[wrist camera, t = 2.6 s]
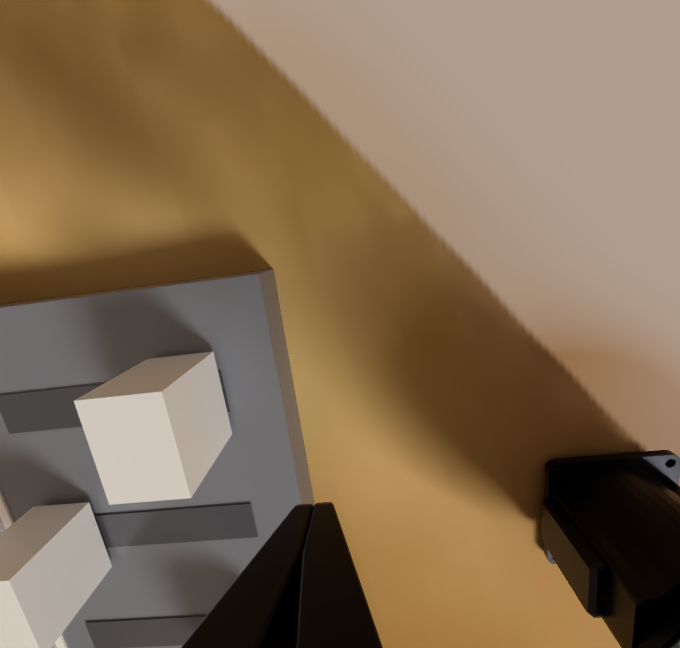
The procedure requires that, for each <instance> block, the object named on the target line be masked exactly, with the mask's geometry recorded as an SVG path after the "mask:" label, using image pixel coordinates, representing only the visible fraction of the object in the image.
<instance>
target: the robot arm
mask: <svg viewBox="0 0 680 648" xmlns="http://www.w3.org/2000/svg"><path fill="white" fill-rule="evenodd" d="M667 460H668V461H667ZM666 461H667V462H666ZM557 468H559V469H558V470H557V471H554V470H555V469H557ZM679 475H680V458H679V457H678V456H677V455H675V454H674V453H672V452H671V451H668V450H660V451H647V452H635V453H623V454H611V455H599V456H587V457H574V458H562V459H553V460H550V461H549V462H547V464H546V465H545V486H544V498H543V500H542V502H541V539H542V541H543V543H544V554H545V556H546V557H547V559H548V560H549V562H550V563H553V564H557V565H558V567H559V568H560V570H561V572H562V573H563V575H564V576H565V578H566V580H567V581H568V583H569V584H570V586H571V588H572V589H573V591H574V592H575V594H576V596H577V597H578V599H579V600H580V602H581V604H582V605H583V607H584V608H585V610H586V611H587V612H588V613H589V614H590V615H591V616H592V617H594V618H599V617H602V619H603V620H604V622H605V623H606V625H607V626H608V628H609V629H610V631H611V633H612V634H613V636H614V637H615V639H616V640H617V642H618V643H619V645H620V646H621V648H680V486H679V485H678V484H679ZM181 648H383V647H382V644H381V641H380V638H379V635H378V632H377V629H376V627H375V624H374V621H373V618H372V615H371V612H370V609H369V606H368V603H367V600H366V598H365V595H364V592H363V589H362V586H361V583H360V580H359V577H358V574H357V571H356V569H355V566H354V563H353V560H352V557H351V554H350V551H349V548H348V545H347V542H346V540H345V537H344V534H343V531H342V528H341V525H340V522H339V519H338V516H337V513H336V511H335V508H334V505H333V503H332V502H324V503H316V504H315V505H313V504H311V503H310V504H298V505H296V506H294V507H293V509H292V510H291V511H290V512H289V514H288V515H287V516H286V517H285V519H284V520H283V521H282V522H281V524H280V525H279V526H278V527H277V529H276V530H275V531H274V532H273V534H272V535H271V536H270V537H269V539H268V540H267V541H266V542H265V544H264V545H263V546H262V547H261V549H260V550H259V551H258V552H257V554H256V555H255V556H254V557H253V558H252V560H251V561H250V562H249V563H248V565H247V566H246V567H245V568H244V570H243V571H242V572H241V573H240V575H239V576H238V577H237V578H236V580H235V581H234V582H233V583H232V585H231V586H230V587H229V588H228V590H227V591H226V592H225V593H224V595H223V596H222V597H221V598H220V600H219V601H218V602H217V603H216V605H215V606H214V607H213V608H212V610H211V611H210V612H209V613H208V615H207V616H206V617H205V618H204V619H203V621H202V622H201V623H200V624H199V626H198V627H197V628H196V629H195V631H194V632H193V633H192V634H191V636H190V637H189V638H188V639H187V641H186V642H185V643H184V644H183V646H182V647H181Z"/></svg>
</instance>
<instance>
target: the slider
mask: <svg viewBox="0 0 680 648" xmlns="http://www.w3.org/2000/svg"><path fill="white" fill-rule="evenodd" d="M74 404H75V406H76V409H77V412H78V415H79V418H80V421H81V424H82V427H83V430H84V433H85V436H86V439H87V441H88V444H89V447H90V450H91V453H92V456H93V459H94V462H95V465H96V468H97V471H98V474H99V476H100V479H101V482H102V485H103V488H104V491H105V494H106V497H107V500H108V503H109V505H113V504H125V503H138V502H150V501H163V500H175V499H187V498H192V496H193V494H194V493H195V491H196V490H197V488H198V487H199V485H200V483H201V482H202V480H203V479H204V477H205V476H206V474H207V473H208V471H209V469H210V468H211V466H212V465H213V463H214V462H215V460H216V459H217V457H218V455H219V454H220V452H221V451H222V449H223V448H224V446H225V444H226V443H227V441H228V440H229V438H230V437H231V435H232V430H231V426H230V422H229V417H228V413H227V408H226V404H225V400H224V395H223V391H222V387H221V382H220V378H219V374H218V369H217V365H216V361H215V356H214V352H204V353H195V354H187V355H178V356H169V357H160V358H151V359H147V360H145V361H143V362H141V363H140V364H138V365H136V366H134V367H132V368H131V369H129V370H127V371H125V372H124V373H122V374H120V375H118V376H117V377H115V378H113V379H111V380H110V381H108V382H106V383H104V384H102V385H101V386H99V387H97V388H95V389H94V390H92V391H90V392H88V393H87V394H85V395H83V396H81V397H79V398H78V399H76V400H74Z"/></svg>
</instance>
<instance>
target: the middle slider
mask: <svg viewBox="0 0 680 648" xmlns="http://www.w3.org/2000/svg"><path fill="white" fill-rule="evenodd" d="M111 567H112V565H111V562H110V559H109V556H108V554H107V551H106V548H105V545H104V542H103V540H102V537H101V534H100V531H99V528H98V526H97V523H96V520H95V517H94V514H93V512H92V509H91V506H90V503H89V502H85V503H73V504H61V505H48V506H36V507H33V508H31V509H30V510H29V511H28V512H26V513H25V514H24V515H23V516H22V517H20V518H19V519H18V520H17V521H16V522H14V523H13V524H12V525H11V526H9V527H8V528H7V529H6V530H5V531H3V532H2V533H1V534H0V648H51V647H52V646H53V645H54V643H55V642H56V641H57V639H58V638H59V637H60V635H61V634H62V633H63V631H64V630H65V629H66V627H67V626H68V625H69V623H70V622H71V621H72V619H73V618H74V617H75V615H76V614H77V613H78V611H79V610H80V609H81V607H82V606H83V605H84V603H85V602H86V601H87V599H88V598H89V597H90V595H91V594H92V593H93V591H94V590H95V589H96V587H97V586H98V585H99V583H100V582H101V581H102V579H103V578H104V577H105V575H106V574H107V573H108V571H109V570H110V569H111Z"/></svg>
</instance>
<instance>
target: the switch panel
mask: <svg viewBox="0 0 680 648" xmlns="http://www.w3.org/2000/svg"><path fill="white" fill-rule="evenodd" d="M204 352H214V356H215V361H216V365H217V369H218V374H219V378H220V382H221V387H222V391H223V395H224V400H225V404H226V408H227V413H228V417H229V422H230V426H231V430H232V435H231V437H230V438H229V440H228V441H227V443H226V444H225V446H224V448H223V449H222V451H221V452H220V454H219V455H218V457H217V459H216V460H215V462H214V463H213V465H212V466H211V468H210V469H209V471H208V473H207V474H206V476H205V477H204V479H203V480H202V482H201V483H200V485H199V487H198V488H197V490H196V491H195V493H194V494H193V496H192V498H187V499H175V500H163V501H150V502H138V503H125V504H113V505H109V503H108V500H107V497H106V494H105V491H104V488H103V485H102V482H101V479H100V476H99V474H98V471H97V468H96V465H95V462H94V459H93V456H92V453H91V450H90V447H89V444H88V441H87V439H86V436H85V433H84V430H83V427H82V424H81V421H80V418H79V415H78V412H77V409H76V406H75V404H74V400H76V399H78V398H79V397H81V396H83V395H85V394H87V393H88V392H90V391H92V390H94V389H95V388H97V387H99V386H101V385H102V384H104V383H106V382H108V381H110V380H111V379H113V378H115V377H117V376H118V375H120V374H122V373H124V372H125V371H127V370H129V369H131V368H132V367H134V366H136V365H138V364H140V363H141V362H143V361H145V360H147V359H151V358H160V357H169V356H178V355H187V354H195V353H204ZM85 502H89V503H90V506H91V509H92V512H93V514H94V517H95V520H96V523H97V526H98V528H99V531H100V534H101V537H102V540H103V542H104V545H105V548H106V551H107V554H108V556H109V559H110V562H111V565H112V567H111V569H110V570H109V571H108V573H107V574H106V575H105V577H104V578H103V579H102V581H101V582H100V583H99V585H98V586H97V587H96V589H95V590H94V591H93V593H92V594H91V595H90V597H89V598H88V599H87V601H86V602H85V603H84V605H83V606H82V607H81V609H80V610H79V611H78V613H77V614H76V615H75V617H74V618H73V619H72V621H71V622H70V623H69V625H68V626H67V627H66V629H65V630H64V631H63V633H62V634H61V635H60V637H59V638H58V639H57V641H56V642H55V643H54V645H53V646H52V647H51V648H181V647H182V646H183V644H184V643H185V642H186V641H187V639H188V638H189V637H190V636H191V634H192V633H193V632H194V631H195V629H196V628H197V627H198V626H199V624H200V623H201V622H202V621H203V619H204V618H205V617H206V616H207V615H208V613H209V612H210V611H211V610H212V608H213V607H214V606H215V605H216V603H217V602H218V601H219V600H220V598H221V597H222V596H223V595H224V593H225V592H226V591H227V590H228V588H229V587H230V586H231V585H232V583H233V582H234V581H235V580H236V578H237V577H238V576H239V575H240V573H241V572H242V571H243V570H244V568H245V567H246V566H247V565H248V563H249V562H250V561H251V560H252V558H253V557H254V556H255V555H256V554H257V552H258V551H259V550H260V549H261V547H262V546H263V545H264V544H265V542H266V541H267V540H268V539H269V537H270V536H271V535H272V534H273V532H274V531H275V530H276V529H277V527H278V526H279V525H280V524H281V522H282V521H283V520H284V519H285V517H286V516H287V515H288V514H289V512H290V511H291V510H292V509H293V507H294V506H296V505H298V504H310V503H311V504H313V505H314V499H313V493H312V488H311V482H310V476H309V471H308V465H307V459H306V454H305V448H304V442H303V436H302V431H301V425H300V419H299V414H298V408H297V402H296V397H295V391H294V385H293V380H292V374H291V368H290V362H289V357H288V351H287V345H286V340H285V334H284V328H283V323H282V317H281V311H280V306H279V300H278V294H277V288H276V283H275V277H274V271H273V269H270V270H263V271H255V272H248V273H240V274H232V275H225V276H217V277H209V278H202V279H194V280H187V281H179V282H171V283H164V284H156V285H148V286H141V287H133V288H126V289H118V290H110V291H103V292H95V293H87V294H80V295H72V296H65V297H57V298H49V299H42V300H34V301H26V302H19V303H11V304H4V305H0V534H1V533H2V532H3V531H5V530H6V529H7V528H8V527H9V526H11V525H12V524H13V523H14V522H16V521H17V520H18V519H19V518H20V517H22V516H23V515H24V514H25V513H26V512H28V511H29V510H30V509H31V508H33V507H36V506H48V505H61V504H73V503H85Z"/></svg>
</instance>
